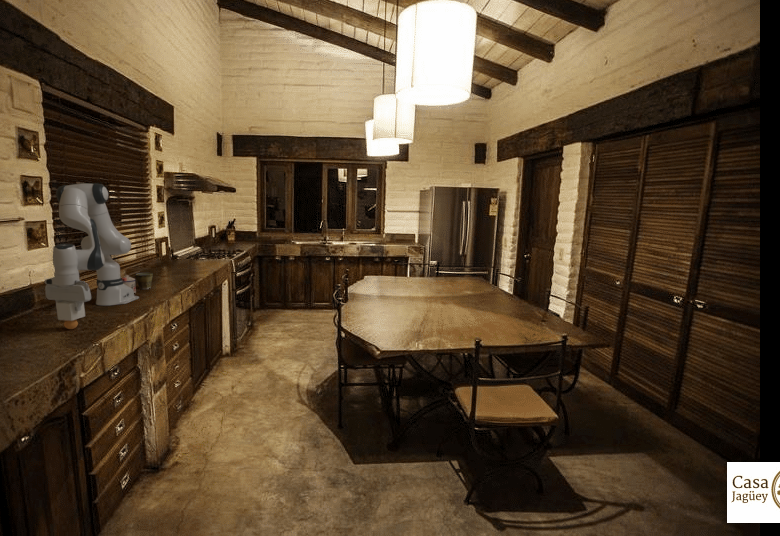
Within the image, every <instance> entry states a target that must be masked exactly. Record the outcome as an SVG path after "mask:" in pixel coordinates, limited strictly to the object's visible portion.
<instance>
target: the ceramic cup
mask: <svg viewBox="0 0 780 536" xmlns="http://www.w3.org/2000/svg"><path fill="white" fill-rule="evenodd" d="M153 275H154V274H153V272H139V273H136V274H135V280H136V282H137V285H138V289H139V290H150V289H151V288H152V281H153V277H154V276H153ZM149 288H150V289H149Z"/></svg>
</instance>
